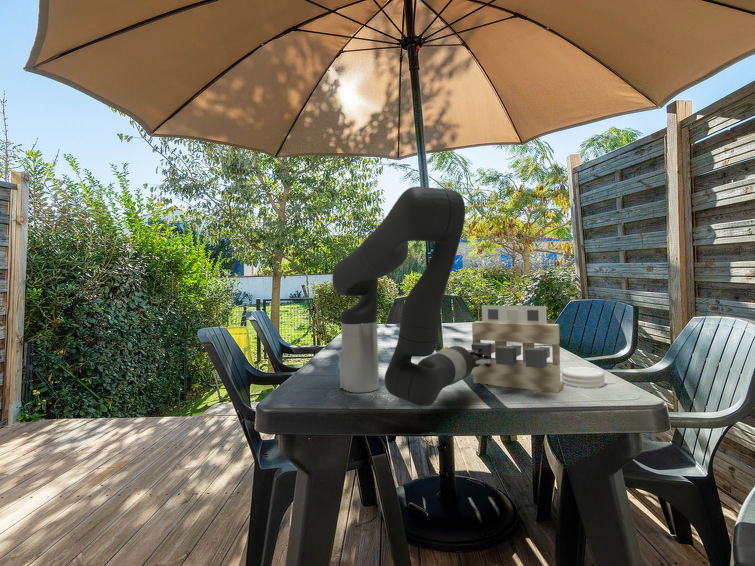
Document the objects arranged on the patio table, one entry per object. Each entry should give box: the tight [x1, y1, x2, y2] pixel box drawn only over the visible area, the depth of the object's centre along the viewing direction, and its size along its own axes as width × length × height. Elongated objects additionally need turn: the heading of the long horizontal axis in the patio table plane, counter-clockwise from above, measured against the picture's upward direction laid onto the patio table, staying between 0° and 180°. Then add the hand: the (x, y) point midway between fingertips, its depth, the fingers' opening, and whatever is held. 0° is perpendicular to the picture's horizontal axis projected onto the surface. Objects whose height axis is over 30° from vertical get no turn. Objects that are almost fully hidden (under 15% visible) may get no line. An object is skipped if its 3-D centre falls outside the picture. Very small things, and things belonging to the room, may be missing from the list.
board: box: [471, 320, 564, 394], centre depth 116 cm, size 21×6×16 cm, turn 56°
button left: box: [471, 341, 495, 356], centre depth 118 cm, size 4×10×4 cm, turn 146°
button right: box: [525, 346, 551, 368], centre depth 108 cm, size 4×10×4 cm, turn 146°
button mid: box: [496, 344, 522, 366], centre depth 112 cm, size 4×10×4 cm, turn 146°
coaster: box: [561, 366, 606, 389], centre depth 115 cm, size 10×10×4 cm
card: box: [481, 304, 548, 325], centre depth 114 cm, size 16×1×4 cm, turn 56°
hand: (479, 352), depth 113 cm, fingers closed
